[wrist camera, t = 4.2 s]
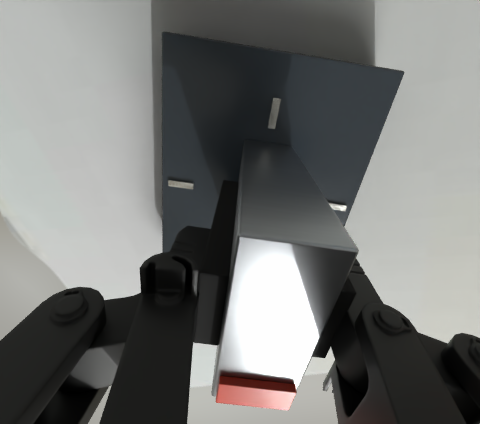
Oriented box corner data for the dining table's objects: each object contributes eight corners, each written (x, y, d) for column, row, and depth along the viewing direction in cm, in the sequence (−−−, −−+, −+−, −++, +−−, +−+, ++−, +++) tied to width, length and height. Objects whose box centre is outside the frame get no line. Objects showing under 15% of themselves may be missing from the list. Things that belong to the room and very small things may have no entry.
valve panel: (178, 40, 14) (160, 30, 11) (376, 72, 14) (407, 71, 11) (173, 249, 20) (161, 277, 17) (309, 267, 20) (318, 297, 18)
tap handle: (244, 138, 13) (237, 240, 5) (292, 145, 13) (365, 257, 5) (230, 236, 16) (209, 406, 8) (269, 241, 16) (292, 415, 8)
